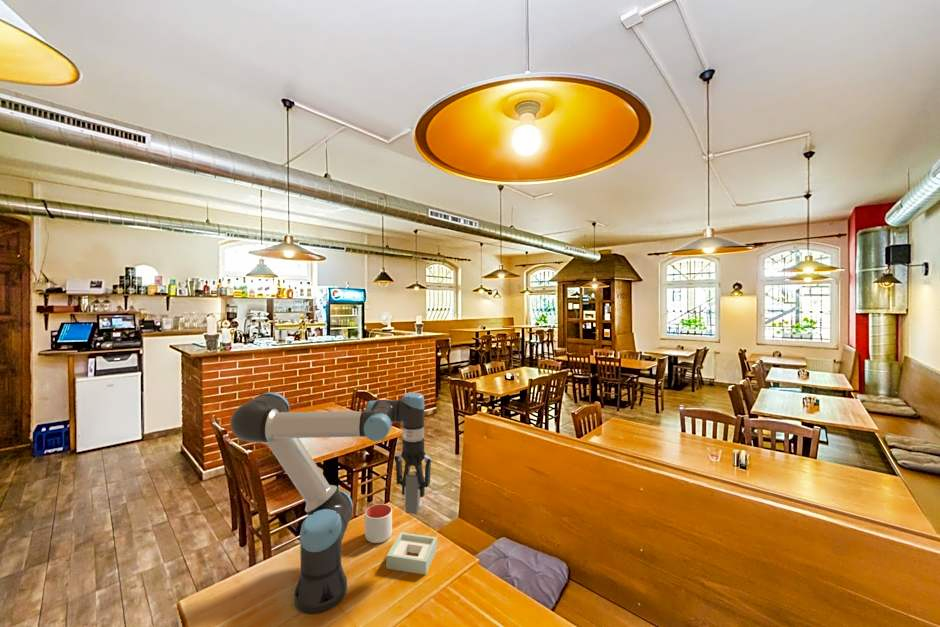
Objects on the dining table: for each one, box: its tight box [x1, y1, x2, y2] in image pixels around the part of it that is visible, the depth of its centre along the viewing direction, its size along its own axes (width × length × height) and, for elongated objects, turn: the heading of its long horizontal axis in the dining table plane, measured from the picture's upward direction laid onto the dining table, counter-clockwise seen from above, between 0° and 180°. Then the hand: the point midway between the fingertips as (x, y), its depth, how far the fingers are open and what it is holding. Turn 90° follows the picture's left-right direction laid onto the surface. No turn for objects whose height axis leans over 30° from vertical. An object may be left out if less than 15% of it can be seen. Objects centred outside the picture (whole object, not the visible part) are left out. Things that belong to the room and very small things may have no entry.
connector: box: [405, 468, 422, 515], centre depth 132 cm, size 4×4×14 cm
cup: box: [364, 503, 393, 544], centre depth 145 cm, size 10×10×10 cm
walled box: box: [385, 531, 438, 576], centre depth 133 cm, size 14×13×4 cm
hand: (413, 504), depth 132 cm, fingers closed on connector, 4 cm apart
